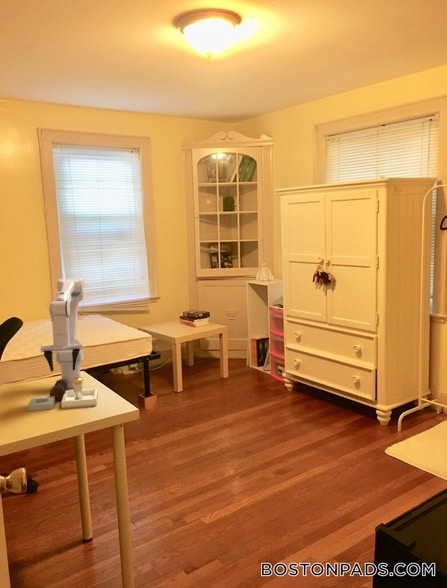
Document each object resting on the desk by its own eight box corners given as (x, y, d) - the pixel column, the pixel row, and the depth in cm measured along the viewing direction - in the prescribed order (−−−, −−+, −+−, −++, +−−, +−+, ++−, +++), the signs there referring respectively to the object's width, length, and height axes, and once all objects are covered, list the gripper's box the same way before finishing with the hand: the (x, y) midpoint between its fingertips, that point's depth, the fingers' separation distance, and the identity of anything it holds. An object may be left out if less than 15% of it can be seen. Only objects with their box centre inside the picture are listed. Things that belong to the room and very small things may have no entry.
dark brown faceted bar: (64, 391, 192) (60, 403, 177) (52, 386, 191) (46, 398, 176) (71, 378, 192) (67, 389, 177) (59, 373, 191) (54, 383, 176)
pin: (73, 398, 177) (72, 377, 176) (84, 397, 178) (83, 376, 177) (72, 402, 173) (70, 380, 172) (84, 401, 174) (82, 380, 173)
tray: (65, 397, 180) (65, 391, 180) (97, 394, 183) (97, 388, 182) (61, 408, 169) (61, 401, 169) (96, 405, 172) (96, 398, 171)
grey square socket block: (32, 402, 176) (31, 397, 175) (55, 400, 177) (55, 395, 177) (28, 410, 168) (27, 405, 167) (52, 408, 169) (52, 403, 169)
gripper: (38, 336, 173) (40, 374, 174) (80, 334, 175) (82, 371, 177) (41, 333, 179) (43, 369, 181) (82, 331, 182) (84, 366, 184)
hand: (63, 370), depth 179 cm, fingers open, 7 cm apart
